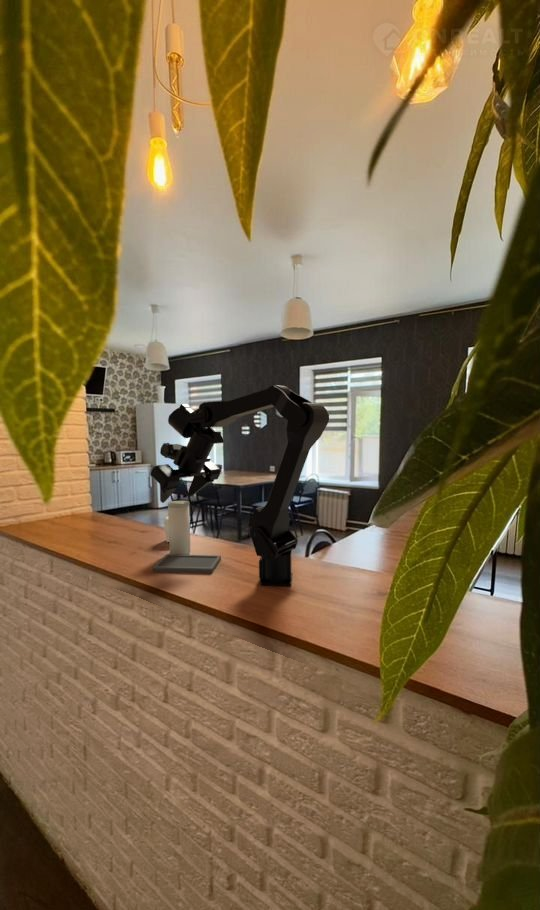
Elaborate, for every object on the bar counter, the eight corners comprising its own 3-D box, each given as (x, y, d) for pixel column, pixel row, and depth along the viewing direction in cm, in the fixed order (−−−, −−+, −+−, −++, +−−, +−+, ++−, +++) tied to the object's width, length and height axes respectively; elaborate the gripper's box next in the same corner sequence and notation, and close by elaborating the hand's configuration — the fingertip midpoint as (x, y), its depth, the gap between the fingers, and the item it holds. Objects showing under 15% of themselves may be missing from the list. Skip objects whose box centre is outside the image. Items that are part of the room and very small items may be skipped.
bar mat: (221, 559, 100) (220, 555, 100) (212, 573, 91) (212, 568, 91) (166, 558, 102) (166, 554, 101) (152, 571, 93) (152, 567, 93)
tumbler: (193, 550, 108) (191, 500, 107) (187, 556, 103) (185, 504, 102) (173, 549, 109) (171, 500, 108) (166, 556, 103) (164, 504, 102)
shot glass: (190, 537, 121) (190, 514, 120) (183, 543, 114) (183, 519, 113) (168, 536, 122) (168, 513, 121) (160, 543, 115) (159, 519, 114)
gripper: (204, 430, 108) (183, 476, 114) (148, 431, 93) (127, 484, 99) (231, 453, 104) (208, 500, 109) (177, 459, 88) (153, 513, 94)
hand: (175, 498), depth 103 cm, fingers open, 9 cm apart
